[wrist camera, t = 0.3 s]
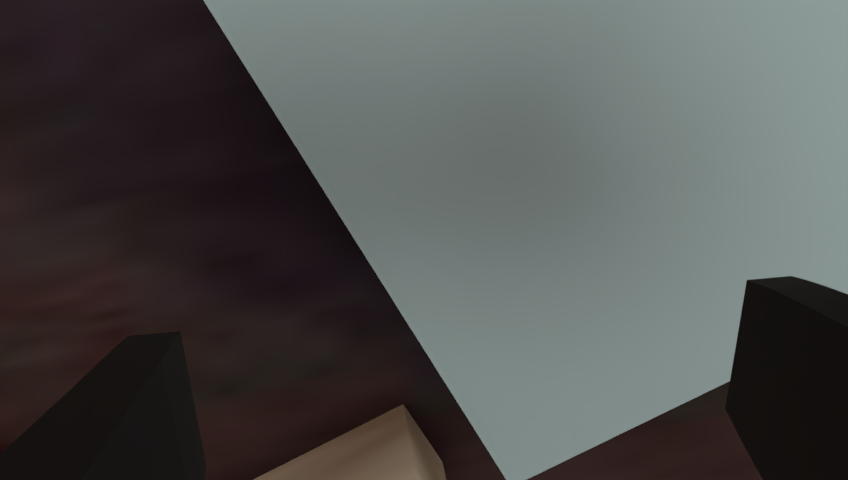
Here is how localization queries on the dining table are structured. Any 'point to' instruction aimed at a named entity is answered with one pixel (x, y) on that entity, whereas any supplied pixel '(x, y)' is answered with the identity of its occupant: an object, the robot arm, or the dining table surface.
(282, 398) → the dining table surface
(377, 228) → the mat
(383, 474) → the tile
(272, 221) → the dining table surface
